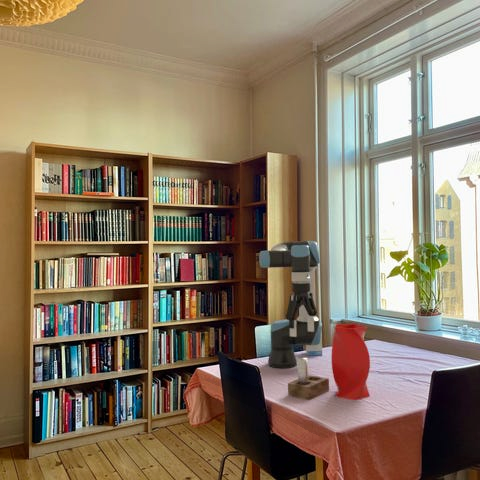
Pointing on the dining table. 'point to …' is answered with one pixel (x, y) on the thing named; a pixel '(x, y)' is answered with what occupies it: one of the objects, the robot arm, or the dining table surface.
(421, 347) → the dining table surface
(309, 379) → the block
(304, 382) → the pin
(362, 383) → the vase
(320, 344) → the ink box
